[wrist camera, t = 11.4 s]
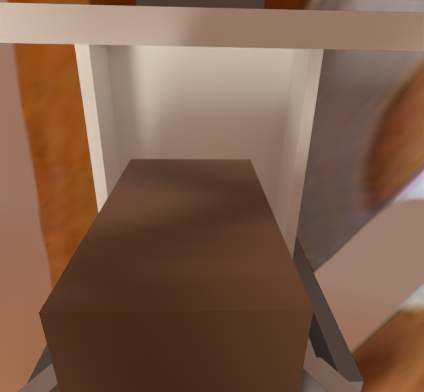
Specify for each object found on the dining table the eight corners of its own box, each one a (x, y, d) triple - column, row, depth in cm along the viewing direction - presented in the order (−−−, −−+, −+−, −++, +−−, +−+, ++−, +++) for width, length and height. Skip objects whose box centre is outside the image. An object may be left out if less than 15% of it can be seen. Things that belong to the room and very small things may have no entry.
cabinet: (293, 230, 32) (363, 381, 18) (275, 360, 40) (314, 537, 26) (105, 229, 32) (26, 384, 18) (123, 361, 40) (78, 542, 25)
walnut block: (250, 159, 11) (313, 309, 5) (237, 366, 15) (262, 591, 9) (130, 159, 11) (38, 313, 5) (150, 367, 15) (114, 597, 9)
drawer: (325, 6, 23) (462, -29, 11) (292, 240, 31) (348, 371, 19) (74, 0, 23) (-78, -44, 10) (106, 240, 31) (43, 374, 19)
